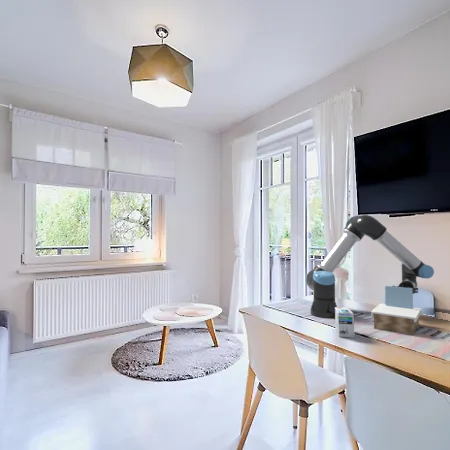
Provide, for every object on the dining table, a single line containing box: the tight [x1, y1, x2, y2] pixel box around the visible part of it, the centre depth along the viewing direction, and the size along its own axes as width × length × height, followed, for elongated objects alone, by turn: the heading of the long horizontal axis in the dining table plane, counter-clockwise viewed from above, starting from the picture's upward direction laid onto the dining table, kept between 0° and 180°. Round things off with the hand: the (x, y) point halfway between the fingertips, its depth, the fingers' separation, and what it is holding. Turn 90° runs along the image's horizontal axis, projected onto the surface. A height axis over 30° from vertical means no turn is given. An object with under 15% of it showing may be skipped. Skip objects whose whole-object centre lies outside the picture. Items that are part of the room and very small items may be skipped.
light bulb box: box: [334, 306, 355, 339], centre depth 140 cm, size 11×7×11 cm, turn 168°
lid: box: [370, 285, 422, 322], centre depth 150 cm, size 18×21×12 cm
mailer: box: [373, 314, 420, 336], centre depth 150 cm, size 16×20×7 cm
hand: (400, 293), depth 159 cm, fingers closed
